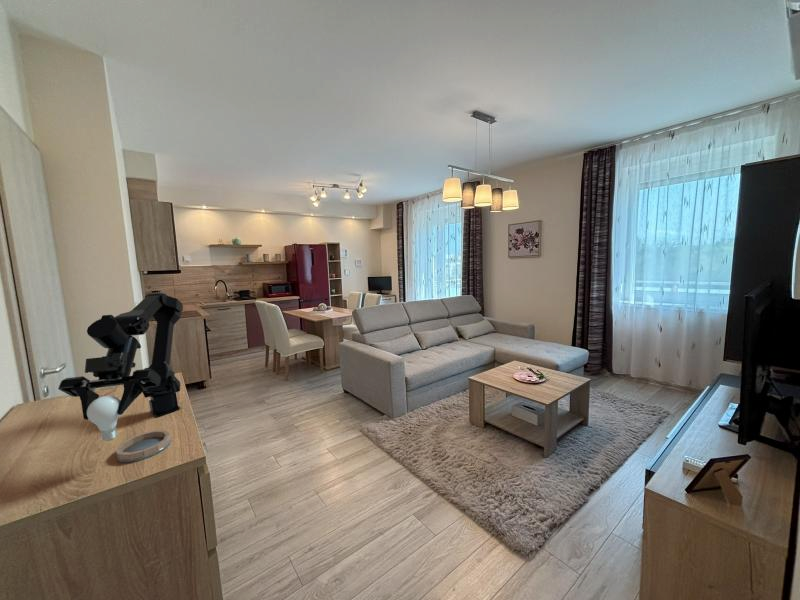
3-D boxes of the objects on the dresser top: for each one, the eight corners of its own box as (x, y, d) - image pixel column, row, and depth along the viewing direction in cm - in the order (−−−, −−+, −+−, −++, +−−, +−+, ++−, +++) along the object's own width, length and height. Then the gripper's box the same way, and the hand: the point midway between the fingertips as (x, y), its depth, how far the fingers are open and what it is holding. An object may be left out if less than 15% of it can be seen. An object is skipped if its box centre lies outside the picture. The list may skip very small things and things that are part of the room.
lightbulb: (99, 450, 73) (92, 405, 71) (86, 443, 76) (79, 400, 74) (132, 436, 79) (126, 394, 77) (119, 430, 82) (113, 389, 80)
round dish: (162, 432, 92) (161, 425, 92) (177, 445, 86) (176, 438, 85) (111, 452, 83) (110, 445, 83) (123, 468, 77) (122, 460, 76)
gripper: (55, 346, 75) (26, 413, 66) (148, 337, 80) (132, 398, 71) (84, 366, 84) (62, 427, 75) (166, 357, 89) (154, 414, 80)
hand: (102, 416), depth 75 cm, fingers closed on lightbulb, 6 cm apart
